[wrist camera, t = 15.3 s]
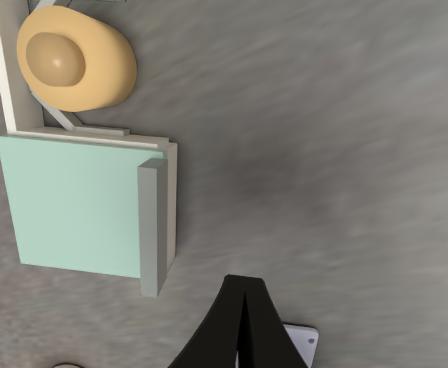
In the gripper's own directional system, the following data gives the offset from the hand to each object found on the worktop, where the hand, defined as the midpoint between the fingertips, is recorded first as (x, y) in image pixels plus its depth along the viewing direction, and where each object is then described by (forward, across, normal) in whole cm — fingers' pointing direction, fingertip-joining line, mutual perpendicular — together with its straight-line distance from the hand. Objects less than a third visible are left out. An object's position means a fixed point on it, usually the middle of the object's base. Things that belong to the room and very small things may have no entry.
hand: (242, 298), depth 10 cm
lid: (+7, +10, +1) cm, 12 cm away
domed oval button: (+10, +10, -8) cm, 16 cm away
